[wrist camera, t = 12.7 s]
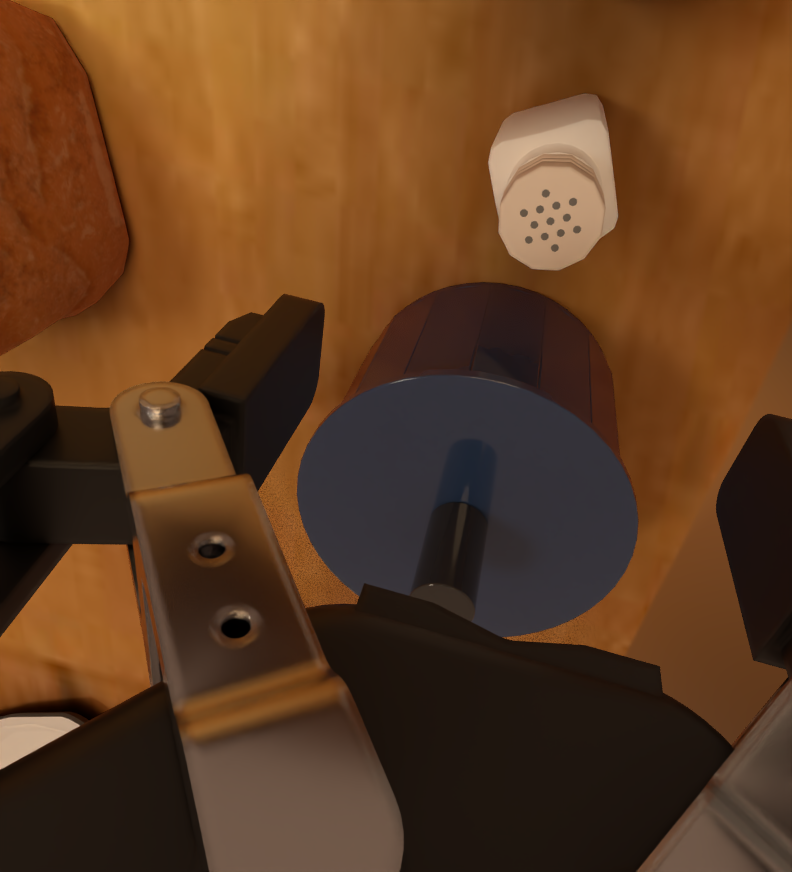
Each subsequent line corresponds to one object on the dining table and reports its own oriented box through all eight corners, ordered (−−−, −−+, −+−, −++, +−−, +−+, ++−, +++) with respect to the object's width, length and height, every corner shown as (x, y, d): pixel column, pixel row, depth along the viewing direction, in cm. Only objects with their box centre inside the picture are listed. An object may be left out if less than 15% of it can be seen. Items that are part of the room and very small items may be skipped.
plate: (275, 842, 71) (266, 869, 69) (111, 860, 85) (99, 883, 82) (80, 678, 61) (62, 704, 58) (-73, 728, 74) (-92, 751, 72)
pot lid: (633, 344, 23) (648, 436, 18) (638, 623, 30) (650, 740, 25) (264, 375, 27) (201, 457, 22) (347, 615, 34) (312, 714, 29)
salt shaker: (499, 114, 28) (471, 170, 20) (600, 86, 26) (611, 134, 19) (517, 210, 30) (498, 294, 22) (612, 189, 28) (627, 270, 21)
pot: (607, 266, 30) (619, 366, 22) (616, 490, 37) (627, 626, 29) (341, 297, 34) (273, 393, 26) (393, 496, 40) (351, 618, 33)
